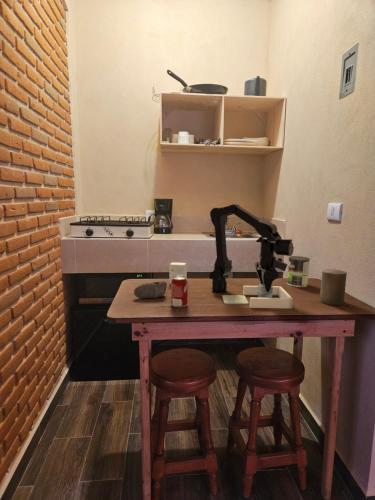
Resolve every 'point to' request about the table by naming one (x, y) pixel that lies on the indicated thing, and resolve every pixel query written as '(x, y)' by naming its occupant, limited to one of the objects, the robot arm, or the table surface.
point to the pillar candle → (333, 286)
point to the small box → (177, 270)
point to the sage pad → (234, 299)
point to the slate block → (264, 292)
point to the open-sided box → (281, 302)
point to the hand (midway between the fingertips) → (265, 288)
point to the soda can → (179, 291)
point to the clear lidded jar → (298, 271)
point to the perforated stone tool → (151, 290)
